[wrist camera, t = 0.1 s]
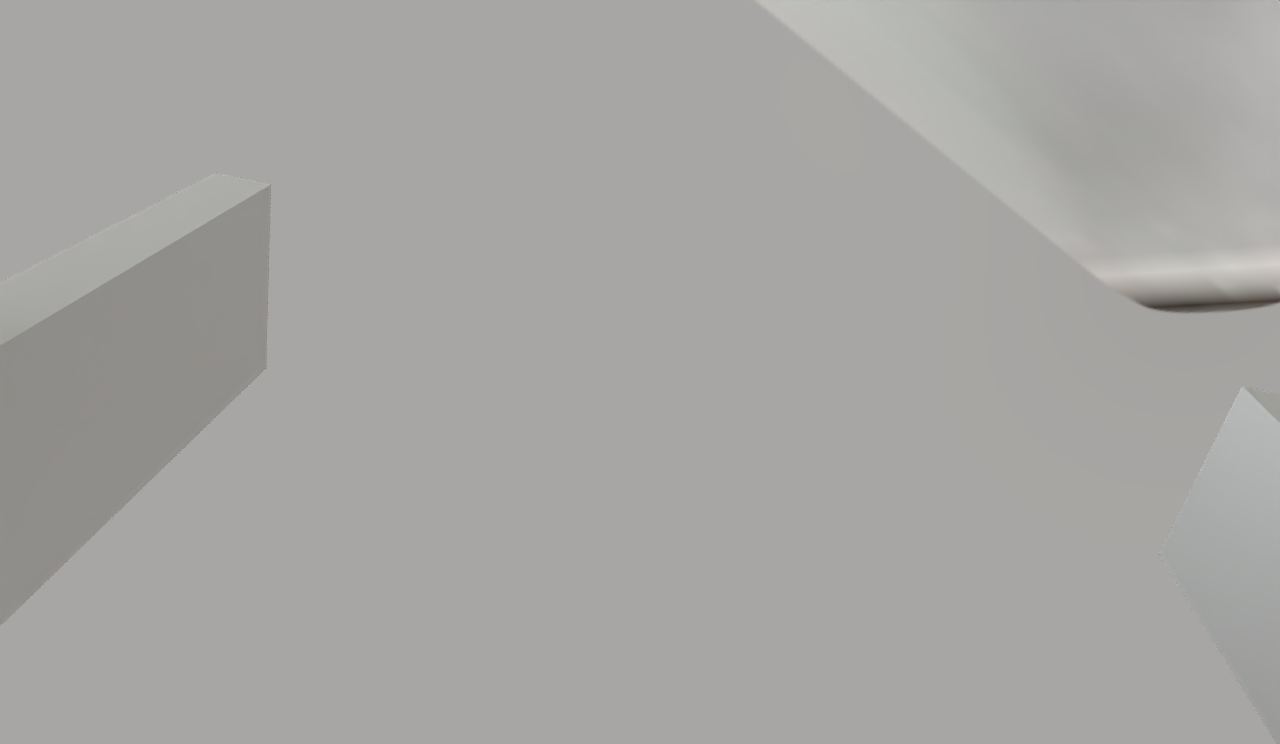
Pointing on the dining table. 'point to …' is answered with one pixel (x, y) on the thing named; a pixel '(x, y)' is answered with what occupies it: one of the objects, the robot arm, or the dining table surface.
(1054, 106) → the dining table surface
